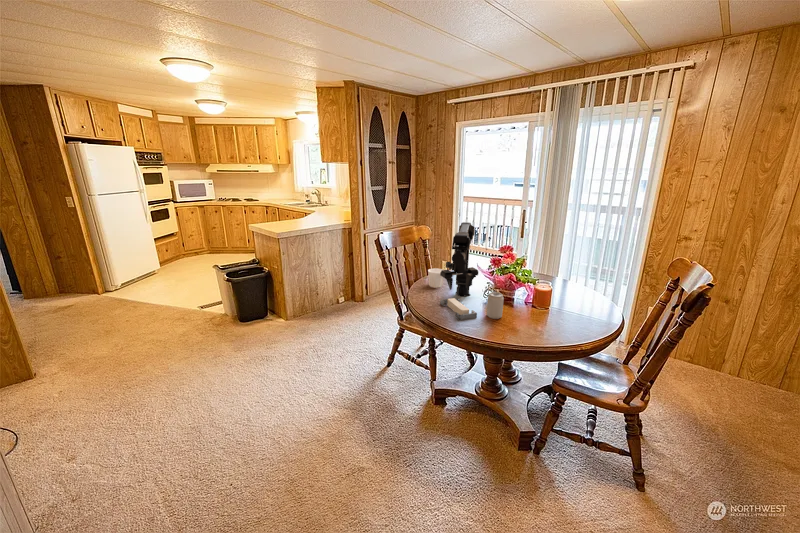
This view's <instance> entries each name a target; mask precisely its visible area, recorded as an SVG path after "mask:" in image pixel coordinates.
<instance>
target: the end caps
mask: <svg viewBox="0 0 800 533" xmlns="http://www.w3.org/2000/svg"><path fill="white" fill-rule="evenodd" d="M451 298H452V297H451ZM451 298H442V299H440V302H439V303H440V306H442V307H443V308H444V307H446V306H445V305H447V300H448V299H451ZM454 298H455V299H456V300H457V301H459V302H460V303H461V300H460V299H459V298H457V297H454ZM477 316H478V313H477V312H476V311H475V310H471V313H470V312H469V314H463V315H460V314H459V313H456V312H455V318H456V319H457V320H458V321H465V320H471V319H472V320H473V319H476V318H477Z"/></svg>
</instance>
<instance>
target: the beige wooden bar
mask: <svg viewBox="0 0 800 533" xmlns="http://www.w3.org/2000/svg"><path fill="white" fill-rule="evenodd" d="M455 298H456V297H451V299H450V298H447V299H448V300H447V304H446V305H447V307H449V308H450V309H451V310H452V311H453V312H454V313H455V314H456V313H459V314H460V315H463V314H470V308H468V307H466V305H464V304H462V303H461V301H460V302H459V301H457V300H456V299H455Z"/></svg>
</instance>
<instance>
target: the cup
mask: <svg viewBox="0 0 800 533" xmlns="http://www.w3.org/2000/svg"><path fill="white" fill-rule="evenodd" d="M442 270H443V269H442V268H437V267H436V268H429V269H427V273H428V275H427V276H428V286H429V287H430V288H435V289H436V288H437V289H438V288H439V289H440V288H441V287H443V284H444V278H443V277H442V276H440V272H441V271H442Z"/></svg>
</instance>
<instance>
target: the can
mask: <svg viewBox="0 0 800 533" xmlns="http://www.w3.org/2000/svg"><path fill="white" fill-rule="evenodd" d="M504 299H505V298H504V296H503V294H502V293H501V292H495V291H493V292H490V293H489V295H488V296H487V305H486V316H487V317H488V318H489V319H493V320H498V319H500V318H502V317H503V310H504V301H505V300H504Z"/></svg>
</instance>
